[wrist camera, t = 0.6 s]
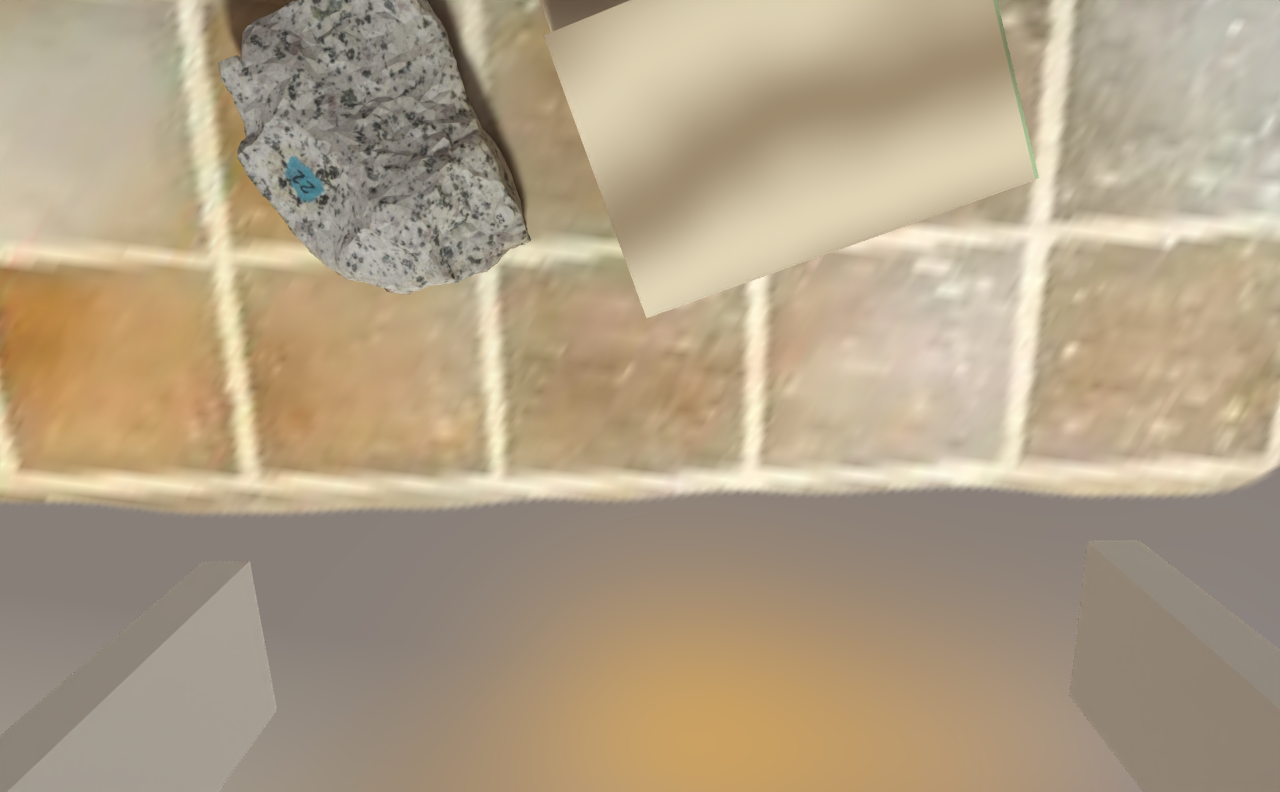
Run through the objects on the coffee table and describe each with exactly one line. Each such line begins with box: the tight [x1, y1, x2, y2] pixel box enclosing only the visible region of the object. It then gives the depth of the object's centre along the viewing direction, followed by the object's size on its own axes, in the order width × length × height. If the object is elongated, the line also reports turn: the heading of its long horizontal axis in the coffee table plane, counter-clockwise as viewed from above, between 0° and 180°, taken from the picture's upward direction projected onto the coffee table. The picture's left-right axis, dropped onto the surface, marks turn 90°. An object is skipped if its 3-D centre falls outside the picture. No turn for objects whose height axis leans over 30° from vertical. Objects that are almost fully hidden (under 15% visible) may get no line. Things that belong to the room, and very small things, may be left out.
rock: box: [218, 0, 531, 294], centre depth 34 cm, size 13×10×5 cm
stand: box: [540, 0, 1039, 318], centre depth 30 cm, size 16×14×8 cm
